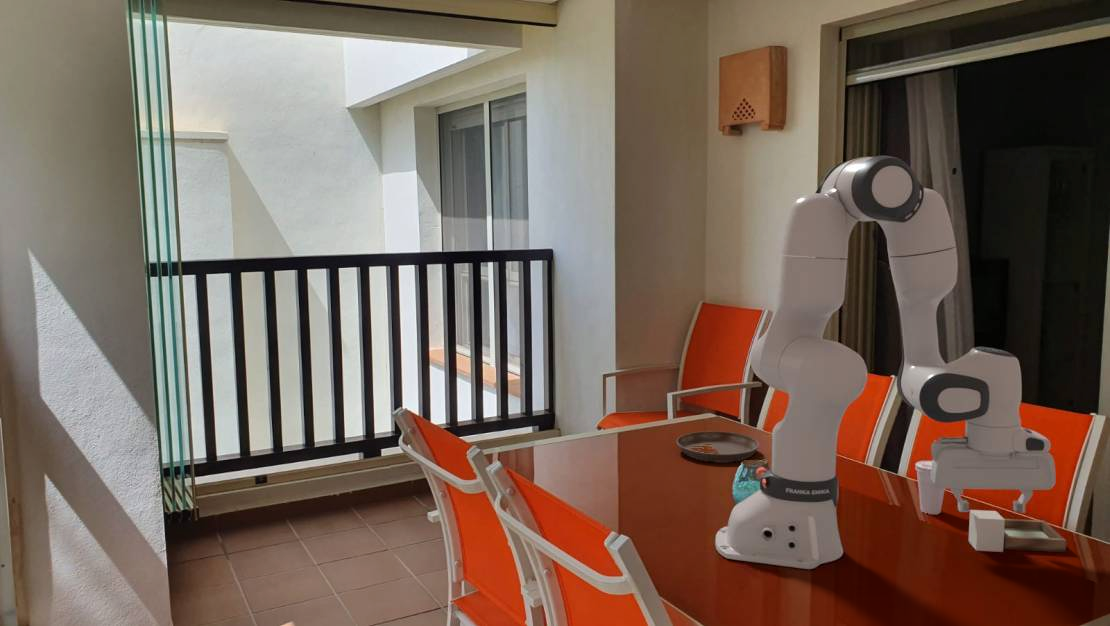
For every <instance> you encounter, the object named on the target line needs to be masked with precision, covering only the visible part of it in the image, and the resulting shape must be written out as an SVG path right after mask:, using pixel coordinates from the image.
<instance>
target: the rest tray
mask: <svg viewBox="0 0 1110 626" xmlns="http://www.w3.org/2000/svg"><path fill="white" fill-rule="evenodd" d="M1004 519H1005V523H1004V543H1003V549H1005V550H1013V551H1014V550H1015V551H1034V552H1037V551H1038V552H1049V553H1050V552H1053V553H1054V552H1055V553H1066V551H1067V549H1066V548H1067V540H1066V538H1064V536H1062V535H1061V534H1060V533H1059V532H1058V531H1056V530H1055V529H1054V528H1053V527H1052V526H1051V525H1050V524H1049V523H1047V521H1045V520H1041V519H1040V520H1039V519H1016V518H1015V519H1014V518H1004Z"/></svg>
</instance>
